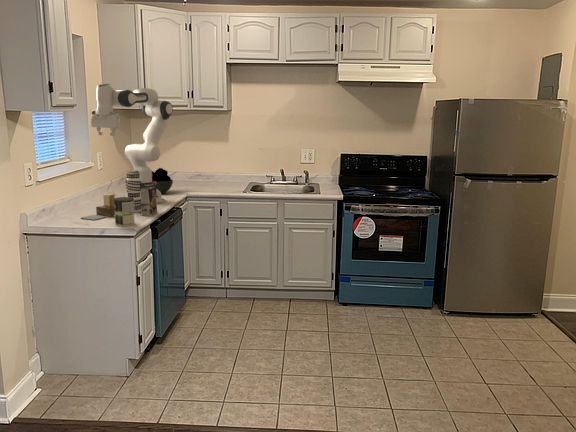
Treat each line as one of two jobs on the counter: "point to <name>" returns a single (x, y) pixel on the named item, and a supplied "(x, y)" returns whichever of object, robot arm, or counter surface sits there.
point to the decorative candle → (134, 188)
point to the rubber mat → (93, 217)
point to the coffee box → (148, 201)
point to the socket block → (105, 211)
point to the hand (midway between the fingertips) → (106, 135)
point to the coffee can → (124, 211)
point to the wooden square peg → (109, 200)
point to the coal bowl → (161, 180)
